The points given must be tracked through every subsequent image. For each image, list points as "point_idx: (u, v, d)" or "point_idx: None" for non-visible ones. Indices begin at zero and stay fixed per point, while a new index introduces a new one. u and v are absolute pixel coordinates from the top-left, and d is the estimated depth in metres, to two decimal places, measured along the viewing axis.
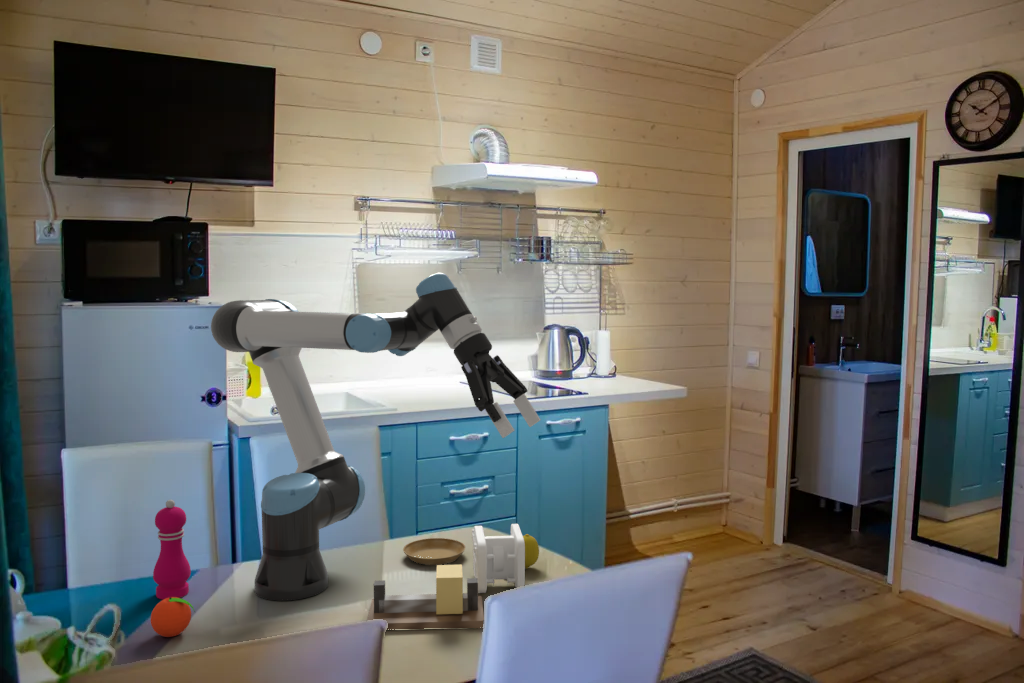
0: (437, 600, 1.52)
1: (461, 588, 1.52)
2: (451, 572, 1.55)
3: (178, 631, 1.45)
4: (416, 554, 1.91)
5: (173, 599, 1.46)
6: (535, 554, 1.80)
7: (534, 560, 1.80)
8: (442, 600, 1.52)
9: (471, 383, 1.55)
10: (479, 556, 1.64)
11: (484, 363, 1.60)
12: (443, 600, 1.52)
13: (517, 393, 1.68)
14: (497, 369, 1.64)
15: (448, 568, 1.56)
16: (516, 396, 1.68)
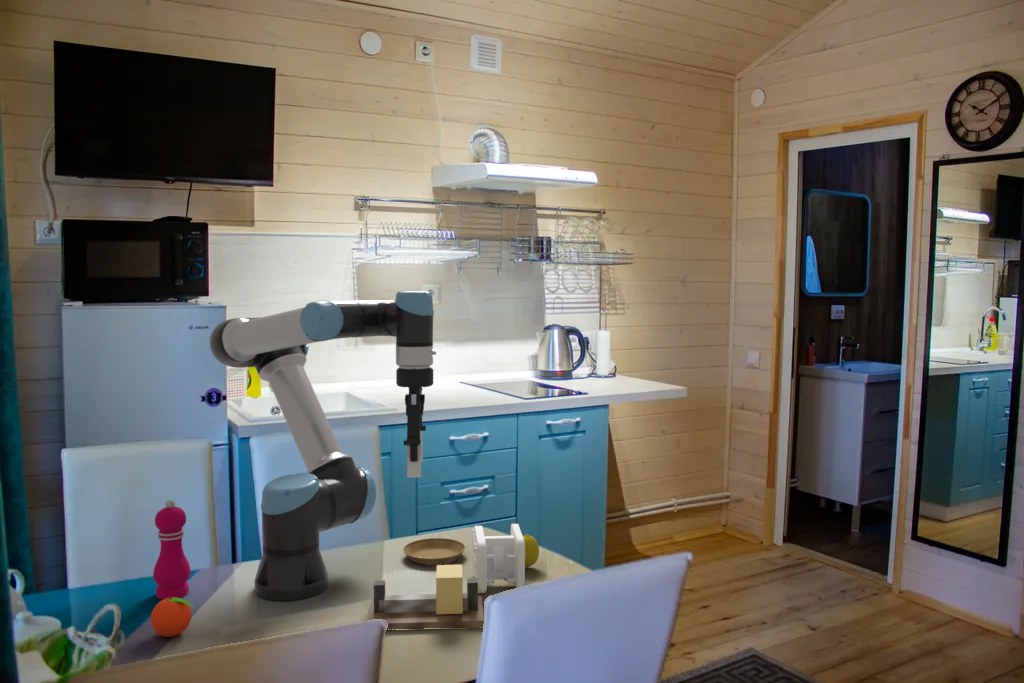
0: (437, 600, 1.52)
1: (461, 588, 1.52)
2: (451, 572, 1.55)
3: (178, 631, 1.45)
4: (416, 554, 1.91)
5: (173, 599, 1.46)
6: (535, 554, 1.80)
7: (534, 560, 1.80)
8: (442, 600, 1.52)
9: (410, 417, 1.55)
10: (479, 556, 1.64)
11: (421, 398, 1.61)
12: (443, 600, 1.52)
13: None
14: None
15: (448, 568, 1.56)
16: None
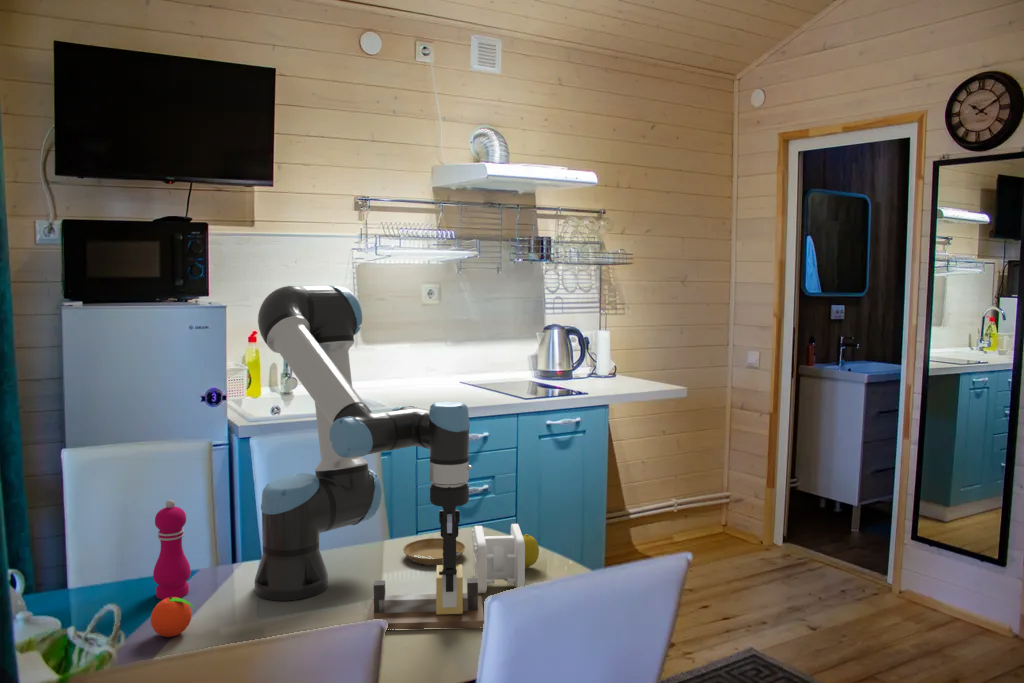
0: (437, 600, 1.52)
1: (461, 588, 1.52)
2: None
3: (178, 631, 1.45)
4: (416, 554, 1.91)
5: (173, 599, 1.46)
6: (535, 554, 1.80)
7: (534, 560, 1.80)
8: None
9: (446, 547, 1.48)
10: (479, 556, 1.64)
11: (456, 518, 1.52)
12: None
13: None
14: None
15: None
16: None
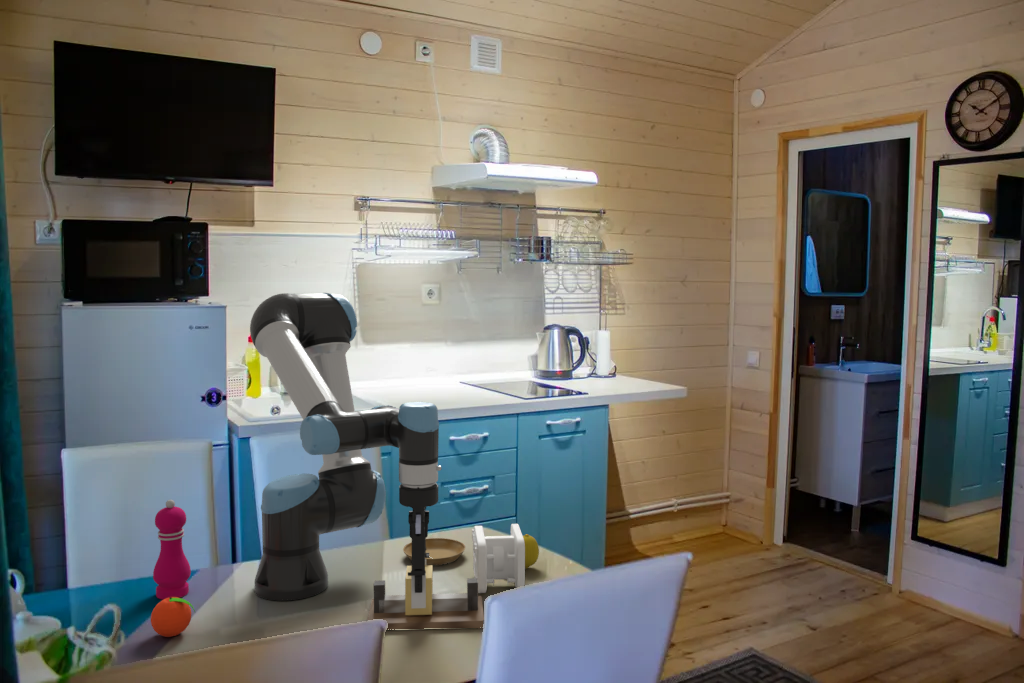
0: (406, 601, 1.51)
1: (430, 589, 1.51)
2: None
3: (178, 631, 1.45)
4: None
5: (173, 599, 1.46)
6: (535, 554, 1.80)
7: (534, 560, 1.80)
8: None
9: (415, 548, 1.47)
10: (479, 556, 1.64)
11: (425, 518, 1.52)
12: None
13: None
14: None
15: None
16: None
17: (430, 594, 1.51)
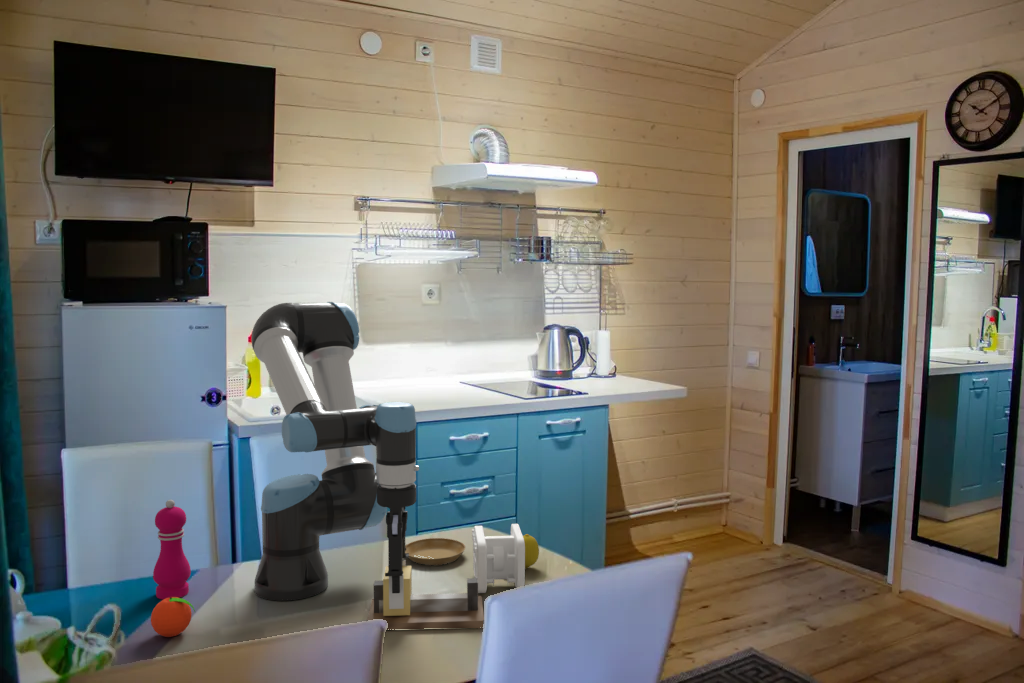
0: (384, 601, 1.51)
1: (408, 589, 1.51)
2: None
3: (178, 631, 1.45)
4: (416, 554, 1.91)
5: (173, 599, 1.46)
6: (535, 554, 1.80)
7: (534, 560, 1.80)
8: None
9: (392, 549, 1.47)
10: (479, 556, 1.64)
11: (403, 519, 1.52)
12: None
13: None
14: None
15: None
16: None
17: (408, 595, 1.51)
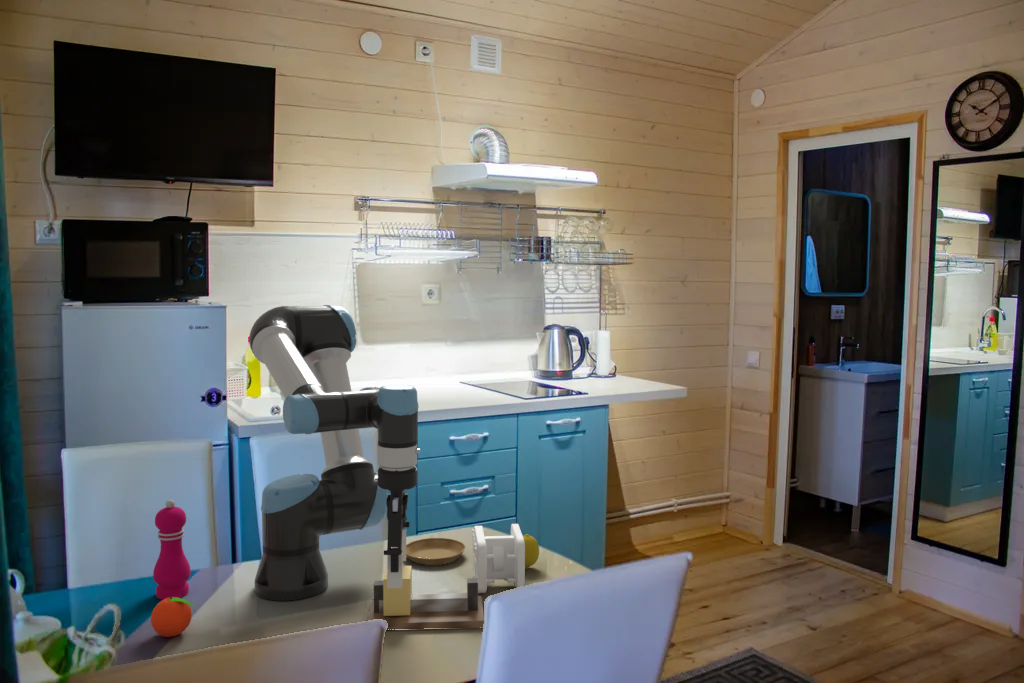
0: (384, 601, 1.51)
1: (408, 589, 1.51)
2: None
3: (178, 631, 1.45)
4: (416, 554, 1.91)
5: (174, 599, 1.46)
6: (535, 554, 1.80)
7: (534, 560, 1.80)
8: (389, 601, 1.51)
9: (391, 526, 1.46)
10: (479, 556, 1.64)
11: (404, 500, 1.52)
12: (390, 601, 1.51)
13: None
14: None
15: None
16: None
17: (408, 595, 1.51)
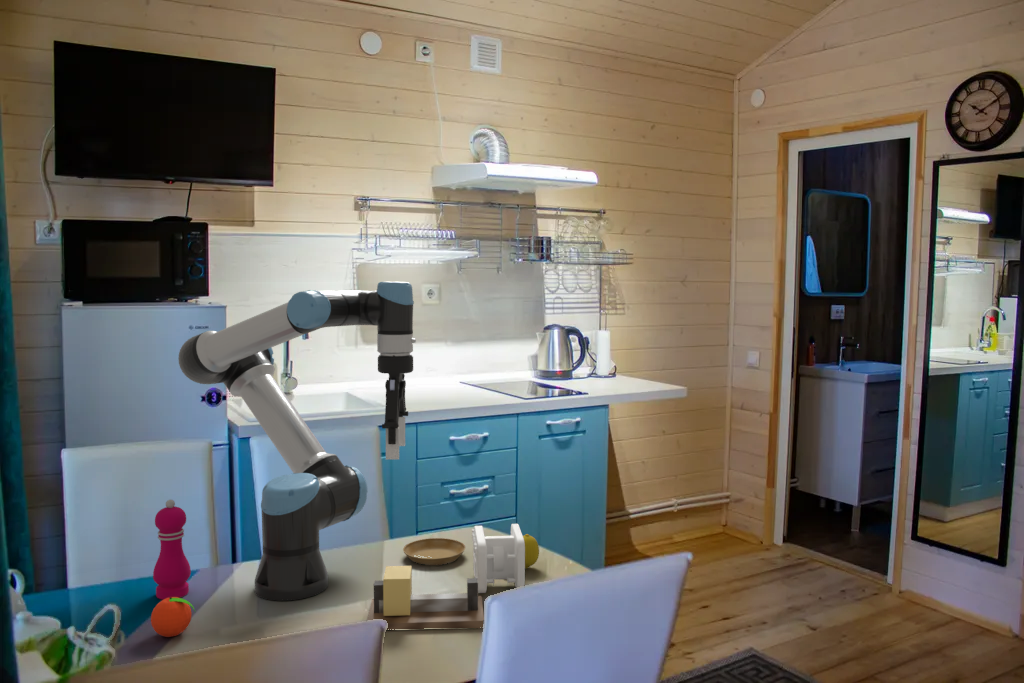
0: (384, 601, 1.51)
1: (408, 589, 1.51)
2: (399, 573, 1.54)
3: (178, 631, 1.45)
4: (416, 554, 1.91)
5: (173, 599, 1.46)
6: (535, 554, 1.80)
7: (534, 560, 1.80)
8: (389, 601, 1.51)
9: (389, 401, 1.63)
10: (479, 556, 1.64)
11: (401, 384, 1.69)
12: (390, 601, 1.51)
13: (399, 412, 1.78)
14: (403, 390, 1.73)
15: (397, 569, 1.56)
16: None
17: (408, 595, 1.51)
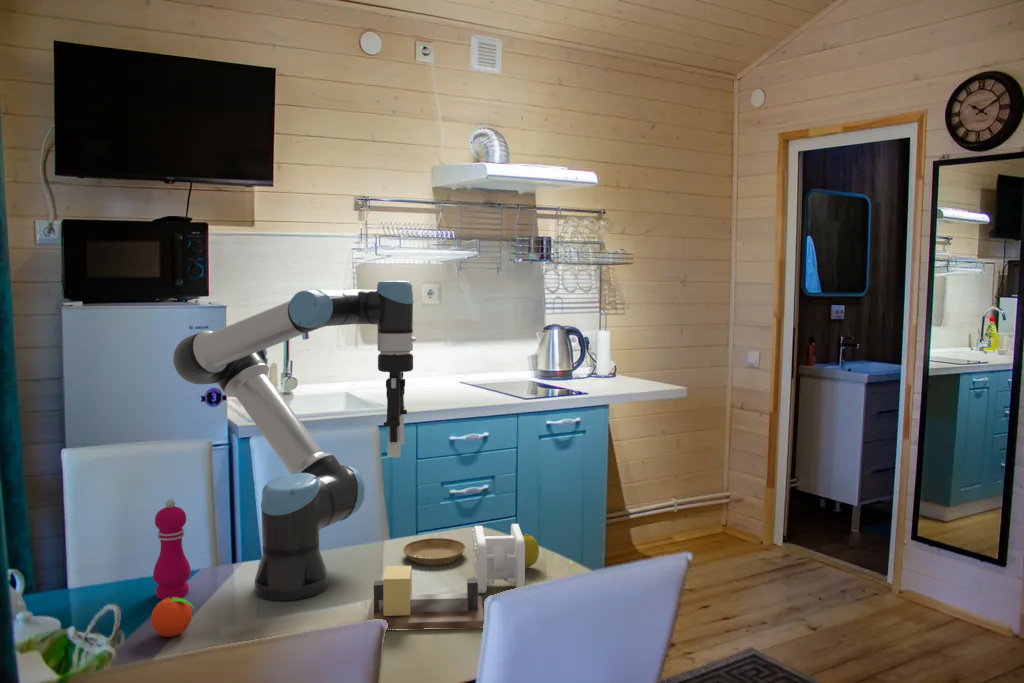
0: (384, 601, 1.51)
1: (408, 589, 1.51)
2: (399, 573, 1.54)
3: (179, 631, 1.45)
4: (416, 554, 1.91)
5: (174, 599, 1.46)
6: (535, 554, 1.80)
7: (534, 560, 1.80)
8: (389, 601, 1.51)
9: (390, 400, 1.64)
10: (479, 556, 1.64)
11: (401, 382, 1.70)
12: (390, 601, 1.51)
13: None
14: (402, 388, 1.74)
15: (397, 569, 1.56)
16: None
17: (408, 595, 1.51)
